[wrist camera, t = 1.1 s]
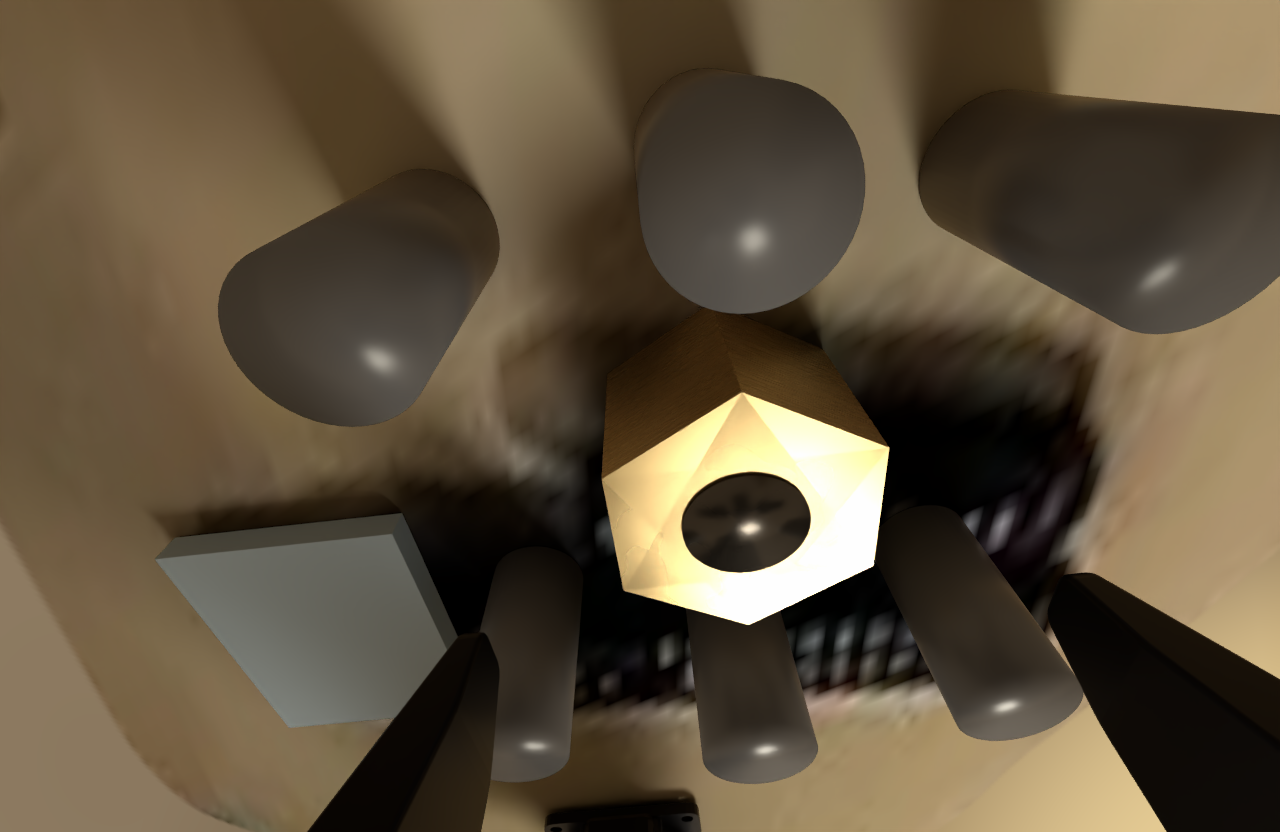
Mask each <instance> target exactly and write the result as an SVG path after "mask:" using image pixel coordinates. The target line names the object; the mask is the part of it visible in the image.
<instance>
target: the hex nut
mask: <svg viewBox="0 0 1280 832" xmlns="http://www.w3.org/2000/svg"><path fill="white" fill-rule="evenodd" d="M888 454H889V447H888V445H887V444H886V442H885V441H884V439H883V438H882V436H881V435H880V433H879V432H878V430H877V429H876V427H875V426H874V424H873V423H872V421H871V420H870V418H869V417H868V415H867V414H866V412H865V411H864V409H863V408H862V406H861V405H860V404H859V402H858V401H857V399H856V398H855V396H854V395H853V393H852V392H851V390H850V389H849V387H848V386H847V384H846V383H845V381H844V380H843V378H842V377H841V375H840V374H839V372H838V371H837V369H836V368H835V366H834V365H833V363H832V362H831V360H830V359H829V357H828V356H827V354H826V353H825V351H824V350H823V349H822V348H820V347H817V346H815V345H813V344H810V343H808V342H805V341H803V340H800V339H798V338H796V337H793V336H791V335H788V334H786V333H783V332H781V331H779V330H776V329H774V328H771V327H769V326H766V325H764V324H762V323H759V322H757V321H754V320H752V319H749V318H747V317H745V316H742V315H740V314H735V313H725V312H719V311H714V310H711V309H708V308H705V307H704V308H702V309H701V310H699V311H698V312H696V313H695V314H693V315H692V316H691V317H689V318H688V319H686V320H685V321H683V322H682V323H680V324H679V325H678V326H676V327H675V328H673V329H672V330H670V331H669V332H667V333H666V334H664V335H663V336H662V337H660V338H659V339H657V340H656V341H654V342H653V343H651V344H650V345H648V346H647V347H646V348H644V349H643V350H641V351H640V352H638V353H637V354H635V355H634V356H633V357H631V358H630V359H628V360H627V361H625V362H624V363H622V364H621V365H619V366H618V367H617V368H615V369H614V370H612V371H611V372H609V373H608V374H607V391H606V410H605V428H604V447H603V466H602V483H603V488H604V493H605V498H606V503H607V508H608V513H609V518H610V523H611V528H612V534H613V539H614V544H615V549H616V554H617V559H618V564H619V569H620V574H621V579H622V584H623V589H624V591H627V592H631V593H634V594H638V595H642V596H645V597H649V598H652V599H656V600H660V601H663V602H667V603H671V604H674V605H678V606H682V607H685V608H689V609H693V610H696V611H700V612H704V613H707V614H711V615H715V616H718V617H722V618H725V619H729V620H733V621H736V622H740V623H744V624H747V625H749V624H752V623H754V622H756V621H758V620H760V619H762V618H764V617H766V616H768V615H770V614H773V613H775V612H777V611H779V610H781V609H783V608H785V607H787V606H789V605H791V604H794V603H796V602H798V601H800V600H802V599H804V598H806V597H808V596H810V595H813V594H815V593H817V592H819V591H821V590H823V589H825V588H827V587H829V586H831V585H834V584H836V583H838V582H840V581H842V580H844V579H846V578H848V577H850V576H852V575H855V574H857V573H859V572H861V571H863V570H865V569H867V568H869V567H871V566H873V564H874V557H875V549H876V542H877V535H878V527H879V520H880V513H881V505H882V498H883V491H884V483H885V476H886V469H887V461H888Z"/></svg>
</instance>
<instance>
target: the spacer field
mask: <svg viewBox="0 0 1280 832" xmlns="http://www.w3.org/2000/svg"><path fill="white" fill-rule="evenodd" d="M634 161H635V171H636V182H637V192H638V203H639V213H640V223H641V229H642V234H643V238H644V242H645V245H646V248H647V251H648V253H649V255H650V257H651V259H652V261H653V263H654V265H655V267H656V268H657V270H658V271H659V273H660V274H661V275H662V277H663V278H664V279H665V280H666V281H667V282H668V284H669V285H670V286H671V287H673V288H674V289H675V290H676V291H677V292H678V293H679V294H681V295H682V296H684V297H685V298H687V299H688V300H690V301H692V302H694V303H696V304H698V305H700V306H702V307H705V308H708V309H711V310H714V311H719V312H725V313H735V314H745V313H756V312H762V311H767V310H770V309H773V308H777V307H780V306H782V305H784V304H787V303H789V302H791V301H793V300H795V299H797V298H799V297H800V296H802V295H804V294H805V293H807V292H808V291H809V290H811V289H812V288H813V287H815V286H816V285H817V284H818V283H819V282H821V281H822V280H823V279H824V278H825V277H826V276H827V275H828V274H829V273H830V272H831V270H832V269H833V268H834V267H835V266H836V265H837V263H838V262H839V261H840V259H841V258H842V256H843V255H844V253H845V252H846V250H847V248H848V246H849V245H850V243H851V241H852V239H853V237H854V234H855V232H856V229H857V227H858V224H859V221H860V217H861V213H862V210H863V203H864V197H865V172H864V163H863V159H862V155H861V151H860V147H859V145H858V142H857V140H856V137H855V135H854V133H853V131H852V129H851V128H850V126H849V124H848V123H847V121H846V120H845V118H844V117H843V116H842V115H841V113H840V112H839V111H838V110H837V109H836V108H835V107H834V106H833V105H832V104H831V103H830V102H829V101H827V100H826V99H825V98H824V97H822V96H821V95H819V94H817V93H816V92H814V91H813V90H811V89H808V88H806V87H804V86H801V85H799V84H796V83H792V82H788V81H784V80H780V79H774V78H768V77H761V76H755V75H749V74H743V73H737V72H731V71H725V70H719V69H710V68H703V69H695V70H690V71H687V72H684V73H681V74H679V75H677V76H675V77H673V78H672V79H670V80H669V81H667V82H666V83H665V84H663V85H662V86H661V87H660V88H659V89H658V90H657V91H656V92H655V93H654V94H653V95H652V97H651V98H650V99H649V101H648V102H647V104H646V105H645V107H644V109H643V111H642V113H641V115H640V118H639V120H638V124H637V127H636V131H635V137H634ZM919 189H920V197H921V201H922V204H923V207H924V209H925V211H926V213H927V214H928V216H929V217H930V218H931V220H932V221H933V222H934V223H936V224H937V225H938V226H940V227H941V228H943V229H945V230H946V231H948V232H950V233H952V234H954V235H955V236H957V237H959V238H961V239H963V240H965V241H966V242H968V243H970V244H972V245H974V246H976V247H977V248H979V249H981V250H983V251H985V252H986V253H988V254H990V255H992V256H994V257H996V258H997V259H999V260H1001V261H1003V262H1005V263H1006V264H1008V265H1010V266H1012V267H1014V268H1016V269H1017V270H1019V271H1021V272H1023V273H1025V274H1027V275H1028V276H1030V277H1032V278H1034V279H1036V280H1037V281H1039V282H1041V283H1043V284H1045V285H1047V286H1048V287H1050V288H1052V289H1054V290H1056V291H1058V292H1059V293H1061V294H1063V295H1065V296H1067V297H1068V298H1070V299H1072V300H1074V301H1076V302H1078V303H1079V304H1081V305H1083V306H1085V307H1087V308H1089V309H1090V310H1092V311H1094V312H1096V313H1098V314H1099V315H1101V316H1103V317H1105V318H1107V319H1109V320H1110V321H1112V322H1114V323H1116V324H1118V325H1119V326H1121V327H1123V328H1126V329H1129V330H1131V331H1135V332H1140V333H1146V334H1167V333H1174V332H1180V331H1184V330H1188V329H1192V328H1196V327H1198V326H1201V325H1204V324H1206V323H1209V322H1212V321H1214V320H1216V319H1218V318H1220V317H1222V316H1224V315H1226V314H1228V313H1230V312H1232V311H1233V310H1235V309H1237V308H1239V307H1240V306H1242V305H1243V304H1245V303H1246V302H1248V301H1249V300H1251V299H1252V298H1254V297H1255V296H1256V295H1258V294H1259V293H1260V292H1261V291H1263V290H1264V289H1265V288H1267V287H1268V286H1269V285H1270V284H1271V283H1272V282H1273V281H1274V280H1275V279H1277V278H1278V277H1279V276H1280V115H1276V114H1265V113H1254V112H1244V111H1233V110H1222V109H1211V108H1201V107H1190V106H1179V105H1168V104H1158V103H1147V102H1136V101H1126V100H1115V99H1104V98H1093V97H1083V96H1072V95H1061V94H1050V93H1040V92H1029V91H1018V90H1002V91H997V92H992V93H989V94H986V95H983V96H981V97H979V98H977V99H975V100H973V101H971V102H970V103H968V104H967V105H965V106H963V107H962V108H961V109H960V110H958V111H957V112H956V113H955V114H954V115H953V116H952V117H950V118H949V119H948V120H947V121H946V123H945V124H944V125H943V126H942V127H941V128H940V130H939V131H938V133H937V134H936V136H935V137H934V139H933V140H932V142H931V144H930V146H929V148H928V150H927V152H926V155H925V157H924V160H923V163H922V167H921V172H920V181H919ZM499 249H500V243H499V234H498V229H497V226H496V223H495V220H494V218H493V216H492V214H491V212H490V210H489V208H488V207H487V205H486V204H485V202H484V201H483V200H482V199H481V197H480V196H479V195H478V194H477V193H476V192H475V191H474V190H473V189H472V188H470V187H469V186H468V185H467V184H465V183H464V182H462V181H461V180H459V179H457V178H455V177H453V176H451V175H449V174H446V173H443V172H440V171H435V170H427V169H417V170H410V171H405V172H403V173H400V174H397V175H395V176H394V177H392V178H390V179H388V180H386V181H384V182H382V183H380V184H378V185H377V186H375V187H373V188H371V189H369V190H367V191H365V192H363V193H362V194H360V195H358V196H356V197H354V198H352V199H350V200H348V201H347V202H345V203H343V204H341V205H339V206H337V207H335V208H333V209H331V210H330V211H328V212H326V213H324V214H322V215H320V216H318V217H316V218H315V219H313V220H311V221H309V222H307V223H305V224H303V225H301V226H300V227H298V228H296V229H294V230H292V231H290V232H288V233H286V234H284V235H283V236H281V237H279V238H277V239H275V240H273V241H271V242H269V243H268V244H266V245H264V246H262V247H260V248H258V249H256V250H255V251H253V252H251V253H249V254H248V255H246V256H245V257H243V258H242V259H241V260H240V261H239V262H237V263H236V264H235V266H234V267H233V268H232V269H231V271H230V272H229V273H228V275H227V277H226V279H225V281H224V282H223V285H222V288H221V291H220V295H219V303H218V318H219V324H220V329H221V333H222V336H223V339H224V342H225V344H226V346H227V348H228V350H229V352H230V354H231V356H232V358H233V359H234V361H235V362H236V364H237V366H238V367H239V368H240V369H241V371H242V372H243V373H244V374H245V376H246V377H247V378H248V379H249V380H250V381H251V382H252V383H253V384H254V385H255V386H256V387H257V388H258V389H259V390H260V391H262V392H263V393H264V394H265V395H266V396H268V397H269V398H270V399H272V400H273V401H275V402H276V403H278V404H279V405H281V406H283V407H284V408H286V409H288V410H290V411H292V412H294V413H296V414H298V415H300V416H302V417H305V418H308V419H311V420H314V421H317V422H321V423H325V424H330V425H336V426H348V427H357V426H368V425H373V424H378V423H381V422H384V421H387V420H389V419H392V418H394V417H396V416H398V415H399V414H401V413H402V412H404V411H405V410H406V409H407V408H409V407H410V406H411V405H412V404H413V403H414V402H415V400H416V399H417V398H418V397H419V395H420V394H421V392H422V390H423V389H424V387H425V385H426V384H427V382H428V380H429V379H430V377H431V375H432V374H433V372H434V370H435V369H436V367H437V365H438V364H439V362H440V360H441V359H442V357H443V355H444V354H445V352H446V350H447V349H448V347H449V345H450V344H451V342H452V340H453V339H454V337H455V335H456V334H457V332H458V330H459V329H460V327H461V325H462V324H463V322H464V320H465V319H466V317H467V315H468V314H469V312H470V310H471V309H472V307H473V305H474V304H475V302H476V300H477V299H478V297H479V295H480V294H481V292H482V290H483V289H484V287H485V285H486V284H487V282H488V280H489V279H490V277H491V275H492V273H493V272H494V270H495V267H496V265H497V262H498V257H499ZM874 559H875V561H876V563H877V565H878V567H879V569H880V571H881V573H882V575H883V577H884V579H885V581H886V583H887V585H888V587H889V589H890V591H891V593H892V595H893V597H894V599H895V601H896V603H897V605H898V607H899V609H900V611H901V613H902V615H903V617H904V619H905V621H906V623H907V625H908V627H909V629H910V631H911V633H912V635H913V637H914V639H915V641H916V643H917V645H918V647H919V649H920V651H921V654H922V656H923V658H924V660H925V662H926V664H927V666H928V668H929V670H930V672H931V674H932V676H933V678H934V680H935V682H936V684H937V686H938V688H939V690H940V692H941V694H942V696H943V698H944V700H945V702H946V704H947V706H948V708H949V710H950V712H951V714H952V716H953V718H954V720H955V722H956V724H957V726H958V728H959V729H960V730H961V731H962V732H963V733H965V734H966V735H968V736H971V737H973V738H976V739H981V740H989V741H1003V740H1013V739H1018V738H1023V737H1027V736H1031V735H1034V734H1037V733H1040V732H1042V731H1045V730H1047V729H1049V728H1051V727H1053V726H1055V725H1057V724H1059V723H1060V722H1062V721H1063V720H1065V719H1066V718H1067V717H1069V716H1070V715H1071V714H1072V713H1073V712H1074V711H1075V710H1076V709H1077V707H1078V706H1079V705H1080V703H1081V701H1082V698H1083V693H1084V692H1083V690H1082V688H1081V686H1080V684H1079V682H1078V680H1077V678H1076V676H1075V675H1074V673H1073V672H1072V671H1071V669H1070V668H1069V666H1068V665H1067V664H1066V662H1065V661H1064V660H1063V658H1062V657H1061V655H1060V654H1059V653H1058V651H1057V650H1056V649H1055V647H1054V646H1053V644H1052V643H1051V642H1050V640H1049V639H1048V637H1047V636H1046V635H1045V633H1044V632H1043V631H1042V629H1041V628H1040V626H1039V625H1038V624H1037V622H1036V621H1035V620H1034V618H1033V617H1032V615H1031V614H1030V613H1029V611H1028V610H1027V609H1026V607H1025V606H1024V604H1023V603H1022V602H1021V600H1020V599H1019V597H1018V596H1017V595H1016V593H1015V592H1014V591H1013V589H1012V588H1011V586H1010V585H1009V584H1008V582H1007V581H1006V580H1005V578H1004V577H1003V575H1002V574H1001V573H1000V571H999V570H998V569H997V567H996V566H995V564H994V563H993V562H992V560H991V559H990V557H989V556H988V555H987V553H986V552H985V551H984V549H983V548H982V546H981V545H980V544H979V542H978V541H977V540H976V538H975V537H974V535H973V534H972V533H971V531H970V530H969V529H968V527H967V526H966V524H965V523H964V522H963V520H962V519H961V518H960V516H959V515H958V514H957V513H956V512H954V511H953V510H951V509H949V508H946V507H943V506H937V505H924V506H917V507H913V508H910V509H907V510H904V511H902V512H900V513H898V514H896V515H894V516H893V517H891V518H890V519H888V520H887V521H886V522H885V523H884V524H883V525H882V526H881V527H880V528H879V529H878V535H877V542H876V549H875V557H874ZM582 590H583V574H582V571H581V569H580V567H579V565H578V564H577V563H576V562H575V561H574V560H573V559H572V558H571V557H570V556H568V555H567V554H565V553H563V552H561V551H558V550H555V549H552V548H548V547H539V546H533V547H524V548H520V549H517V550H514V551H512V552H510V553H508V554H507V555H505V556H504V557H503V558H502V559H501V560H500V561H499V562H498V564H497V566H496V568H495V572H494V576H493V580H492V584H491V588H490V592H489V596H488V600H487V604H486V608H485V612H484V616H483V620H482V624H481V628H480V632H484V633H485V634H486V635H487V636H488V638H489V641H490V643H491V646H492V648H493V650H494V653H495V655H496V658H497V660H498V663H499V670H500V679H499V691H498V703H497V715H496V727H495V739H494V751H493V762H492V772H491V780H494V781H501V782H528V781H534V780H539V779H542V778H546V777H548V776H551V775H553V774H555V773H556V772H558V771H559V770H561V769H562V768H563V767H564V766H565V765H566V763H567V761H568V760H569V756H570V744H571V731H572V718H573V706H574V693H575V680H576V667H577V654H578V641H579V629H580V616H581V603H582ZM686 613H687V622H688V631H689V640H690V649H691V658H692V667H693V676H694V685H695V694H696V703H697V711H698V720H699V729H700V738H701V747H702V756H703V762H704V765H705V767H706V768H707V769H708V771H710V772H711V773H712V774H713V775H715V776H717V777H719V778H721V779H724V780H727V781H731V782H736V783H744V784H760V783H768V782H774V781H778V780H782V779H785V778H788V777H790V776H793V775H795V774H797V773H799V772H801V771H802V770H804V769H805V768H806V767H808V766H809V765H810V764H811V763H812V762H813V760H814V759H815V757H816V755H817V752H818V745H817V741H816V737H815V734H814V730H813V727H812V723H811V720H810V716H809V712H808V709H807V705H806V702H805V698H804V695H803V691H802V687H801V684H800V680H799V677H798V673H797V670H796V666H795V662H794V659H793V655H792V652H791V648H790V644H789V641H788V637H787V634H786V630H785V627H784V623H783V619H782V616H781V612H780V610H779V611H777V612H775V613H773V614H770V615H768V616H766V617H764V618H762V619H760V620H758V621H756V622H754V623H752V624H749V625H747V624H744V623H740V622H736V621H733V620H729V619H725V618H722V617H718V616H715V615H711V614H707V613H704V612H700V611H696V610H693V609H689V608H686Z"/></svg>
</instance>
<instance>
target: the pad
mask: <svg viewBox="0 0 1280 832" xmlns="http://www.w3.org/2000/svg"><path fill="white" fill-rule="evenodd" d="M155 560H156V562H157V563H158V564H159V565H160V567H161V568H162V569H163V570H164V572H165V573H166V574H167V575H168V577H169V578H170V579H171V580H172V582H173V583H174V584H175V585H176V587H177V588H178V589H179V590H180V592H181V593H182V594H183V595H184V597H185V598H186V599H187V600H188V602H189V603H190V604H191V606H192V607H193V608H194V609H195V611H196V612H197V613H198V614H199V616H200V617H201V618H202V619H203V621H204V622H205V623H206V624H207V626H208V627H209V628H210V629H211V631H212V632H213V633H214V634H215V636H216V637H217V638H218V639H219V641H220V642H221V643H222V644H223V646H224V647H225V648H226V649H227V651H228V652H229V653H230V654H231V656H232V657H233V658H234V659H235V661H236V662H237V663H238V664H239V666H240V667H241V668H242V669H243V671H244V672H245V673H246V674H247V676H248V677H249V678H250V679H251V681H252V682H253V683H254V684H255V686H256V687H257V688H258V689H259V691H260V692H261V693H262V694H263V696H264V697H265V698H266V699H267V701H268V702H269V703H270V704H271V706H272V707H273V708H274V709H275V711H276V712H277V713H278V714H279V716H280V717H281V718H282V719H283V721H284V722H285V723H286V724H287V726H288V727H289V728H292V727H303V726H314V725H325V724H336V723H346V722H357V721H368V720H379V719H390V718H395V717H396V716H397V714H398V713H399V712H400V711H401V709H402V708H403V707H404V705H405V704H406V703H407V701H408V700H409V699H410V698H411V696H412V695H413V694H414V692H415V691H416V690H417V688H418V687H419V686H420V685H421V683H422V682H423V681H424V679H425V678H426V677H427V675H428V674H429V673H430V672H431V670H432V669H433V668H434V666H435V665H436V664H437V663H438V661H439V660H440V659H441V657H442V656H443V655H444V653H445V652H446V651H447V650H448V648H449V647H450V646H451V644H452V643H453V642H454V640H455V639H456V638H457V637H458V636H457V634H456V632H455V629H454V627H453V625H452V623H451V621H450V618H449V616H448V614H447V612H446V609H445V607H444V605H443V603H442V601H441V598H440V596H439V594H438V592H437V589H436V587H435V585H434V583H433V581H432V578H431V576H430V574H429V572H428V569H427V567H426V565H425V563H424V561H423V558H422V556H421V554H420V552H419V549H418V547H417V545H416V543H415V541H414V538H413V536H412V534H411V532H410V529H409V527H408V525H407V523H406V521H405V518H404V516H403V514H402V513H399V514H390V515H380V516H371V517H362V518H353V519H343V520H334V521H325V522H316V523H306V524H297V525H288V526H279V527H269V528H260V529H251V530H242V531H232V532H223V533H214V534H205V535H195V536H186V537H177V538H174V539H173V540H172V541H171V542H170V543H169V544H168V546H167V547H166V548H165V549H164V550H163V551H162V552H161V553H160V554H159V555H158V556H157V557H156V558H155Z"/></svg>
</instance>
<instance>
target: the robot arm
mask: <svg viewBox="0 0 1280 832" xmlns="http://www.w3.org/2000/svg"><path fill="white" fill-rule="evenodd" d="M1048 619H1049V623H1050V625H1051V628H1052V630H1053V632H1054V634H1055V636H1056V638H1057V640H1058V642H1059V644H1060V646H1061V648H1062V650H1063V652H1064V654H1065V656H1066V658H1067V660H1068V662H1069V664H1070V666H1071V668H1072V670H1073V672H1074V674H1075V676H1076V678H1077V680H1078V682H1079V684H1080V686H1081V688H1082V690H1083V692H1084V694H1085V696H1086V698H1087V700H1088V702H1089V704H1090V706H1091V708H1092V710H1093V712H1094V714H1095V715H1096V717H1097V719H1098V721H1099V723H1100V725H1101V726H1102V728H1103V730H1104V731H1105V733H1106V735H1107V736H1108V738H1109V740H1110V741H1111V743H1112V745H1113V746H1114V748H1115V750H1116V751H1117V752H1118V754H1119V756H1120V758H1121V759H1122V761H1123V762H1124V764H1125V765H1126V767H1127V769H1128V770H1129V772H1130V774H1131V775H1132V777H1133V778H1134V780H1135V782H1136V783H1137V785H1138V786H1139V788H1140V790H1141V791H1142V793H1143V795H1144V796H1145V798H1146V799H1147V801H1148V803H1149V804H1150V805H1151V807H1152V809H1153V811H1154V812H1155V814H1156V815H1157V817H1158V819H1159V820H1160V822H1161V823H1162V825H1163V827H1164V828H1165V830H1166V831H1167V832H1280V679H1278V678H1277V677H1275V676H1273V675H1271V674H1270V673H1268V672H1266V671H1265V670H1263V669H1261V668H1259V667H1258V666H1256V665H1254V664H1252V663H1251V662H1249V661H1247V660H1245V659H1244V658H1242V657H1240V656H1238V655H1237V654H1235V653H1233V652H1231V651H1230V650H1228V649H1226V648H1224V647H1223V646H1221V645H1219V644H1217V643H1215V642H1214V641H1212V640H1210V639H1209V638H1207V637H1205V636H1203V635H1202V634H1200V633H1198V632H1196V631H1195V630H1193V629H1191V628H1189V627H1188V626H1186V625H1184V624H1182V623H1181V622H1179V621H1177V620H1175V619H1174V618H1172V617H1170V616H1168V615H1167V614H1165V613H1163V612H1162V611H1160V610H1158V609H1156V608H1155V607H1153V606H1151V605H1149V604H1148V603H1146V602H1144V601H1142V600H1141V599H1139V598H1137V597H1135V596H1134V595H1132V594H1130V593H1128V592H1127V591H1125V590H1123V589H1121V588H1120V587H1118V586H1116V585H1114V584H1113V583H1111V582H1109V581H1107V580H1106V579H1104V578H1102V577H1100V576H1098V575H1096V574H1093V573H1076V574H1067V575H1064V576H1062V577H1061V578H1060V579H1059V581H1058V584H1057V586H1056V589H1055V591H1054V594H1053V597H1052V599H1051V602H1050V604H1049V607H1048ZM499 679H500V670H499V663H498V660H497V658H496V655H495V653H494V650H493V648H492V646H491V643H490V641H489V638H488V636H487V635H486V634H485V633H484V632H476V633H466V634H461V635H460V636H458V637H457V638H456V639H455V640H454V642H453V643H452V644H451V646H450V647H449V648H448V650H447V651H446V652H445V653H444V655H443V656H442V657H441V659H440V660H439V661H438V663H437V664H436V665H435V666H434V668H433V669H432V670H431V672H430V673H429V674H428V675H427V677H426V678H425V679H424V681H423V682H422V683H421V685H420V686H419V687H418V688H417V690H416V691H415V692H414V694H413V695H412V696H411V698H410V699H409V700H408V701H407V703H406V704H405V705H404V707H403V708H402V709H401V711H400V712H399V713H398V714H397V716H396V717H395V718H394V720H393V721H392V722H391V724H390V725H389V726H388V727H387V729H386V730H385V731H384V733H383V734H382V735H381V737H380V738H379V739H378V740H377V742H376V743H375V744H374V746H373V747H372V748H371V750H370V751H369V752H368V753H367V755H366V756H365V757H364V759H363V760H362V761H361V763H360V764H359V765H358V766H357V768H356V769H355V770H354V772H353V773H352V774H351V776H350V777H349V778H348V779H347V781H346V782H345V783H344V785H343V786H342V787H341V789H340V790H339V791H338V792H337V794H336V795H335V796H334V798H333V799H332V800H331V802H330V803H329V804H328V805H327V807H326V808H325V809H324V811H323V812H322V813H321V815H320V816H319V817H318V818H317V820H316V821H315V822H314V824H313V825H312V826H311V828H310V829H309V830H308V831H307V832H481V829H482V824H483V819H484V813H485V808H486V803H487V797H488V792H489V786H490V780H491V772H492V762H493V751H494V739H495V727H496V715H497V703H498V691H499ZM545 832H701V824H700V817H699V810H698V806H697V805H696V804H694V803H673V804H662V805H650V806H638V807H626V808H614V809H602V810H590V811H578V812H566V813H555V814H550V815H548V816H547V817H546V819H545Z"/></svg>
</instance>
